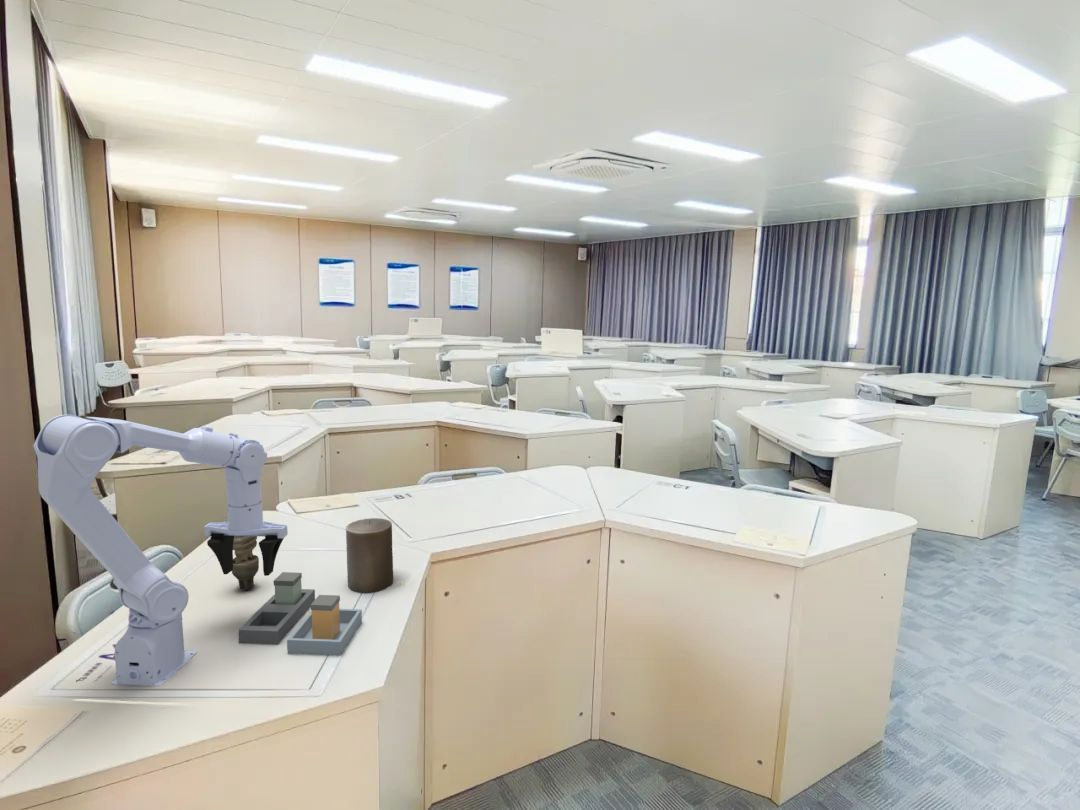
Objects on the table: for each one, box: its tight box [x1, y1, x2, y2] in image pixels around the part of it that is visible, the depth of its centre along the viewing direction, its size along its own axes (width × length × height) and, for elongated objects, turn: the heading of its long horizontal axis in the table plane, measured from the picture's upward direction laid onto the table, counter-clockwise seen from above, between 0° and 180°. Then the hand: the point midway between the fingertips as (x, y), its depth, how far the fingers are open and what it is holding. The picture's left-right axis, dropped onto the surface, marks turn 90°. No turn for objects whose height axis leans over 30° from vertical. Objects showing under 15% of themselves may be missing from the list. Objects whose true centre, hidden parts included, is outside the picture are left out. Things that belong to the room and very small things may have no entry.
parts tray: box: [286, 608, 363, 656], centre depth 105 cm, size 11×9×3 cm
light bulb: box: [231, 536, 260, 592], centre depth 122 cm, size 6×6×15 cm
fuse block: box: [237, 588, 316, 645], centre depth 110 cm, size 16×7×3 cm, turn 179°
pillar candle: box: [345, 517, 394, 594], centre depth 126 cm, size 10×10×15 cm
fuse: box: [273, 571, 303, 605], centre depth 114 cm, size 4×4×7 cm
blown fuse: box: [310, 594, 341, 640], centre depth 105 cm, size 4×4×7 cm
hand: (248, 572), depth 108 cm, fingers open, 7 cm apart
